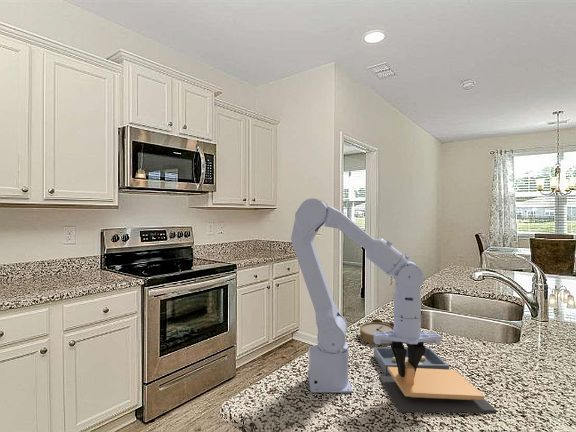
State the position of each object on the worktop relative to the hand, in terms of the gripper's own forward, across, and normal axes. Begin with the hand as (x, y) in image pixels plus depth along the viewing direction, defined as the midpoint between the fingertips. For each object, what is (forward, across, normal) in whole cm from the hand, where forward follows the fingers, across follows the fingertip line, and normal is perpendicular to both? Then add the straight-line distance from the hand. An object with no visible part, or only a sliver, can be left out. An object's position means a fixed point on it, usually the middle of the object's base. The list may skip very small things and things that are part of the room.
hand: (406, 375), depth 75 cm
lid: (+2, +6, 0) cm, 6 cm away
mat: (+4, +6, 0) cm, 7 cm away
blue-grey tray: (+4, +6, +14) cm, 16 cm away
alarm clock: (+5, +4, +34) cm, 35 cm away
